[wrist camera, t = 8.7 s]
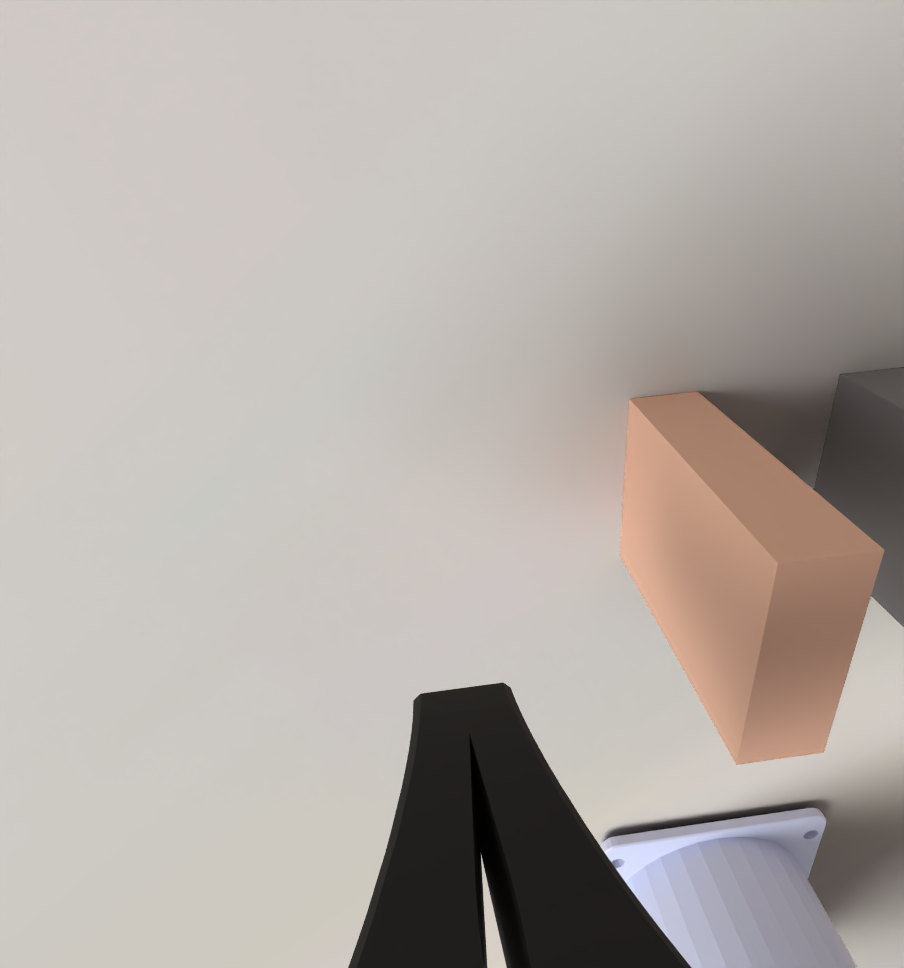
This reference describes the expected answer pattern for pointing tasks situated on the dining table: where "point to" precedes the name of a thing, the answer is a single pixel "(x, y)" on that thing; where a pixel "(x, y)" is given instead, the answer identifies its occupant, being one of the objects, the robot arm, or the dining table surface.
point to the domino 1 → (743, 575)
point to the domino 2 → (870, 470)
